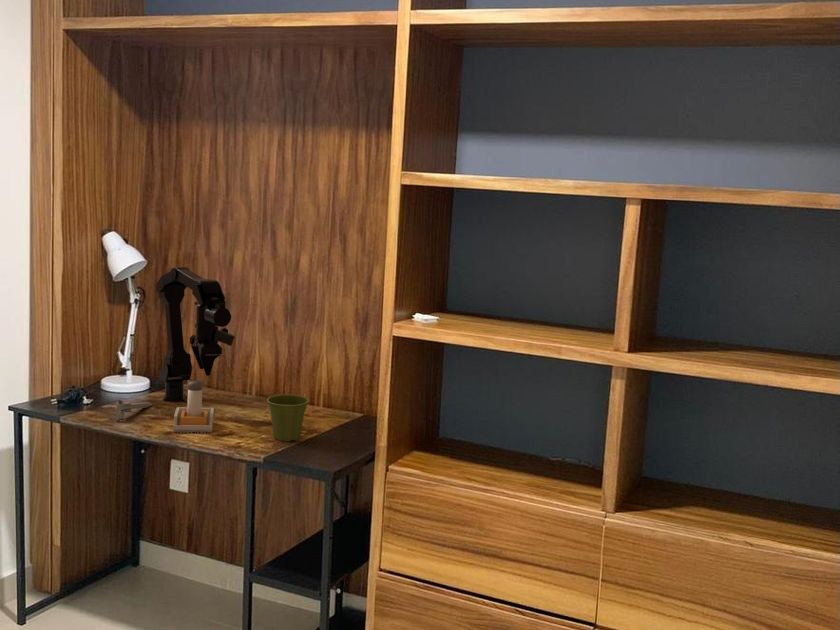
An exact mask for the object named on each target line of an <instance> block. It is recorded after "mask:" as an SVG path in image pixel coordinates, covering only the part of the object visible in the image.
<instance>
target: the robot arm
mask: <svg viewBox="0 0 840 630" xmlns="http://www.w3.org/2000/svg"><path fill="white" fill-rule="evenodd" d="M155 287H156V291H157V295H158V299H159V300H160V301H161V303H162V304H163V305H164V310H165V311H164V312H165V313H164V314H165V326H166V336H167V338H166V339H167V349H168V350H167V352H166V354H165V357H164V358H163V365H162V367H161V369H160V371H159V373H158V377H159V381H161V382H163V383H165V385H164V386H165V393H164V396H163V397H162V400H163V401H167V402H168V401H169V402H170V401H176V402H178V401H180V402H183V401H185V399H186V394H184V387H185V385H184V384H185V381H191V378H192V373H193V364H192V355H191V353H188V352H187V351H186V349H185V347H184V346H185V345H184V335H183V333H184V332H183V321H182V310H181V303H182V301H183V300H184V297H185V290H186V289H187V288H188V289H190V290H192V292H191V295H193V297H194V298H195V299H196V301H195V302H194V305H195V306H196V323H195V324H194V328H196V329H195V334H191V336H190V337H189V344H190V348H191V350H192V353H193V355H194V357H195V360H196V362H197V365H198V368H199V370H203V372H204V374H205V376H206V377H208V376H211V374H212V370H213V366H214V362H215V360H216V359H217V358H218V357H220V356H221V355H222V354H223V347H222V346H221V345H220V344H219V342H220V343H223V344H226V345H227V346H229V347H232V345H233V343H234V340H235V338H236V336H235V335H234V334H231V333H229V329H228V328H225V327H227V326H228V325H229V323H230V322H231V320H232V314H231V312H230V310H229V309H228V308H226V296H225V294H224V292H223V290H222V286H221V284H220V282H219V281H218V280H216V279H212V278H211V279H210V278H203V277H202V276H200V275H199V274H197V273H195V272H194V271H192V270H190V268H189V267H186V266H175V267H172V268H171V269H170V270H169V271H168V272H166V273H164V274H163V275H161V276H160V278H159V279H158V280H157V282H156V285H155ZM219 327H220V329H219Z"/></svg>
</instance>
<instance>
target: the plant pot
mask: <svg viewBox="0 0 840 630" xmlns="http://www.w3.org/2000/svg"><path fill="white" fill-rule="evenodd" d="M266 402H267V403H268V408H269V411H270V418H271V425H272V432H273V438H274V439H276V440H277V441H280V442H291V441H297V440H299V439H300V436H301V431H302V426H303V421H304V418H305V417H304V416H305V412H306V410H307V407H308V406H307V405H308V403H309V402H310V399H309V398H308V397H305V396H303V395H297V394H277V395H276V394H275V395H272V396H269V397H268V398H267V399H266Z"/></svg>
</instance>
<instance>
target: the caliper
mask: <svg viewBox="0 0 840 630" xmlns="http://www.w3.org/2000/svg"><path fill="white" fill-rule="evenodd" d="M151 406H153V403H151V402H149V401H148V402H136V403H135V402H134V403H133V402H125V400H124V399H118V402H117V404H116V408H115V409H116V410H115V420H117V421H116V422H120V421H121V420H120V419H123V420H124V418H125V413H131V411H132V410H135V409H143V408H144V409H145V408H149V407H151Z"/></svg>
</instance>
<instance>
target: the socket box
mask: <svg viewBox="0 0 840 630" xmlns="http://www.w3.org/2000/svg"><path fill="white" fill-rule="evenodd" d="M214 409H215V408H214V407H202V413H201V417H187V406H185V407H183V406H181V407H178V406H176V409H175V412H174V415H173V429H172V430H173V432H172V433H174V434H177V433H178V432H180V434H182V432H183V433H184V434H185V432H186V433H187V434H189V432H191V434H192V432H195V433H194V434H198V433H199V432H200V433H199V434H212V433H213V428H214V427H213V426H214V417H215V414H214V413H215V412H214V411H215V410H214ZM175 432H177V433H175ZM196 432H197V433H196ZM203 432H204V433H203ZM206 432H207V433H206ZM209 432H210V433H209ZM178 434H179V433H178Z"/></svg>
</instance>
